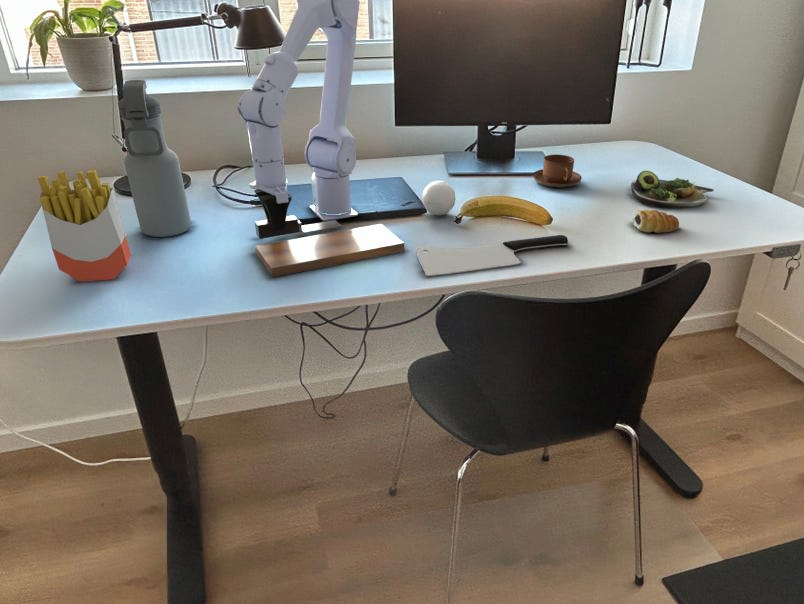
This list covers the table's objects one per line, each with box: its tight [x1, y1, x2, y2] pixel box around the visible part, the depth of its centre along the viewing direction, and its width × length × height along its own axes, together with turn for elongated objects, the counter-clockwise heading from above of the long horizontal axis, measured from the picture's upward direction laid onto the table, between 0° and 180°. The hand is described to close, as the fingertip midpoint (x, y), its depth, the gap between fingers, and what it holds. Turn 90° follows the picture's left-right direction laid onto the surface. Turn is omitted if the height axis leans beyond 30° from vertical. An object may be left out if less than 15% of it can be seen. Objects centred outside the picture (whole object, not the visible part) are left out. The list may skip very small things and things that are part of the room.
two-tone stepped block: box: [254, 214, 342, 240], centre depth 132 cm, size 4×17×3 cm, turn 119°
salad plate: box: [630, 170, 715, 209], centre depth 157 cm, size 19×18×5 cm
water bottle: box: [117, 79, 192, 238], centre depth 127 cm, size 10×10×28 cm
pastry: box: [632, 209, 680, 234], centre depth 140 cm, size 9×7×4 cm
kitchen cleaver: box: [415, 234, 569, 277], centre depth 126 cm, size 31×2×10 cm
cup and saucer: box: [532, 154, 583, 188], centre depth 163 cm, size 12×12×6 cm
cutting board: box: [254, 223, 405, 278], centre depth 126 cm, size 11×26×2 cm, turn 119°
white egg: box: [415, 180, 457, 216], centre depth 143 cm, size 10×7×7 cm
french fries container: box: [37, 169, 132, 282], centre depth 111 cm, size 5×11×18 cm, turn 102°
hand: (277, 226), depth 131 cm, fingers closed on two-tone stepped block, 2 cm apart
